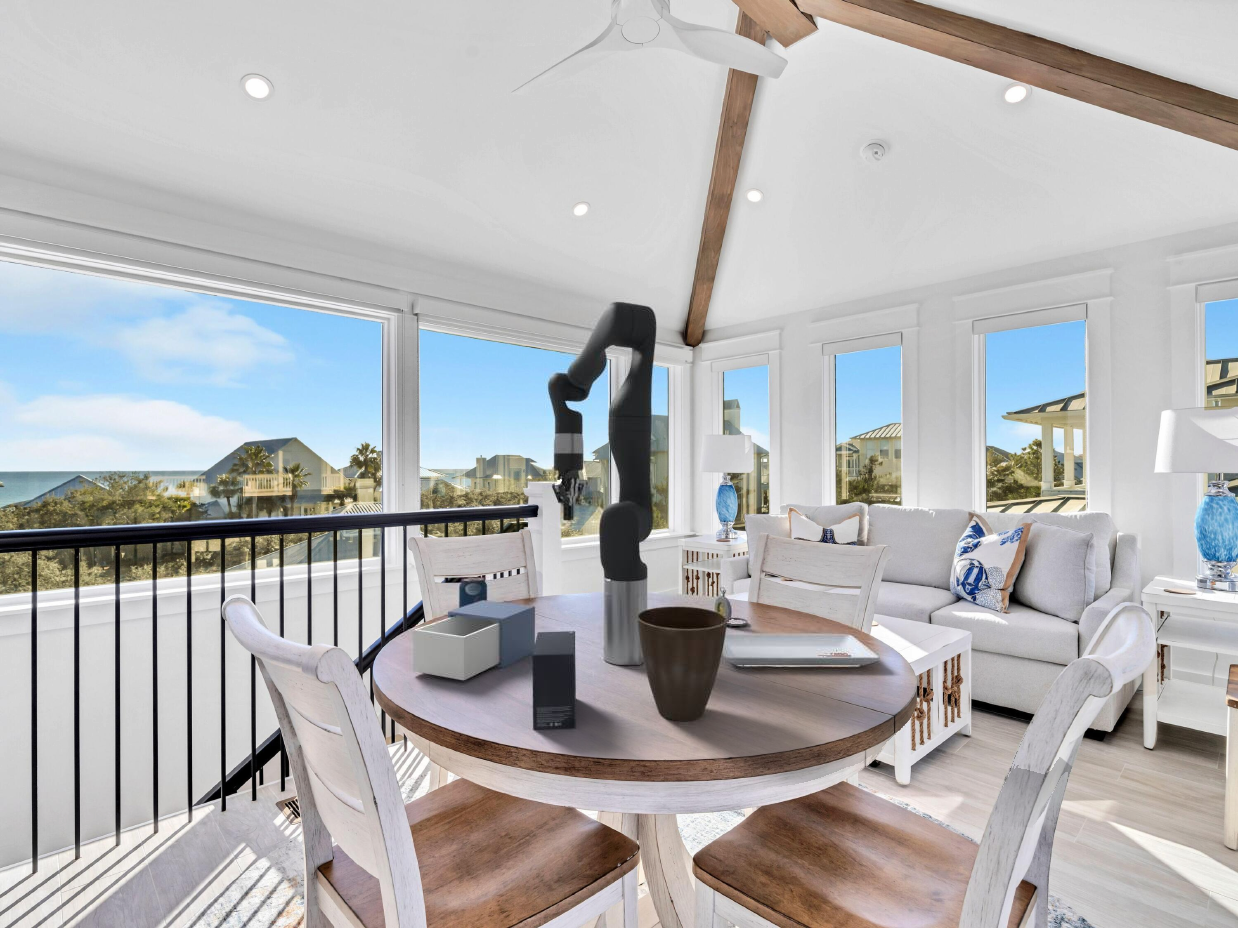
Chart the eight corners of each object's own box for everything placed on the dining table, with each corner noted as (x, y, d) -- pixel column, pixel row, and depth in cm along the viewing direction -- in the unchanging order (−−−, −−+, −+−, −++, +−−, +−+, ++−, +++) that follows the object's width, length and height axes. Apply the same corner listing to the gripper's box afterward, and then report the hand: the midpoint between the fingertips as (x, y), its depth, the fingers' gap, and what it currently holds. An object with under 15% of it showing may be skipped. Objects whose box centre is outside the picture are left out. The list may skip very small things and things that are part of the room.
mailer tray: (533, 646, 138) (533, 609, 138) (463, 680, 116) (463, 637, 116) (488, 639, 143) (488, 604, 143) (413, 670, 121) (413, 629, 121)
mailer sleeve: (534, 651, 136) (535, 606, 136) (502, 667, 125) (503, 618, 125) (482, 643, 142) (482, 600, 142) (447, 658, 131) (447, 611, 131)
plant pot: (744, 711, 104) (744, 615, 104) (692, 740, 93) (693, 633, 93) (672, 689, 114) (672, 602, 114) (618, 713, 103) (618, 617, 103)
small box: (536, 698, 109) (537, 630, 109) (575, 697, 110) (576, 630, 110) (531, 730, 96) (531, 653, 96) (575, 729, 97) (576, 652, 97)
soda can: (480, 629, 154) (481, 581, 154) (454, 628, 155) (454, 580, 155) (491, 622, 161) (491, 576, 161) (465, 621, 162) (465, 575, 162)
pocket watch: (751, 623, 161) (751, 585, 161) (739, 630, 154) (739, 590, 154) (722, 619, 166) (722, 581, 166) (709, 626, 159) (709, 587, 159)
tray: (882, 673, 124) (882, 656, 124) (724, 673, 124) (724, 655, 124) (850, 648, 141) (850, 633, 141) (712, 648, 141) (712, 632, 141)
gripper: (568, 451, 150) (568, 523, 150) (593, 452, 162) (593, 518, 162) (542, 451, 154) (542, 521, 154) (568, 452, 166) (568, 517, 166)
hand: (568, 520), depth 158 cm, fingers closed
